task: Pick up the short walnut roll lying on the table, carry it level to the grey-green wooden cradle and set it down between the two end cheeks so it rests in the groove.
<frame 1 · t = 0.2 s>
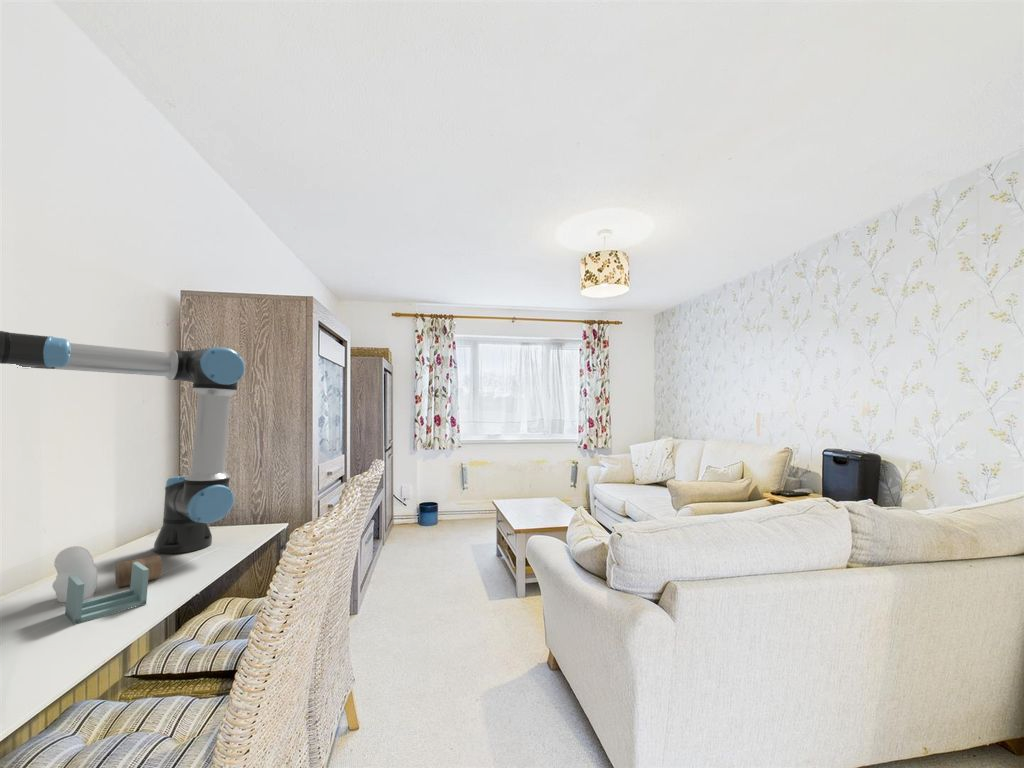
roll: (139, 570, 113), point 3 cm above the table
cradle: (106, 608, 98), on the table
figurine: (73, 598, 103), on the table
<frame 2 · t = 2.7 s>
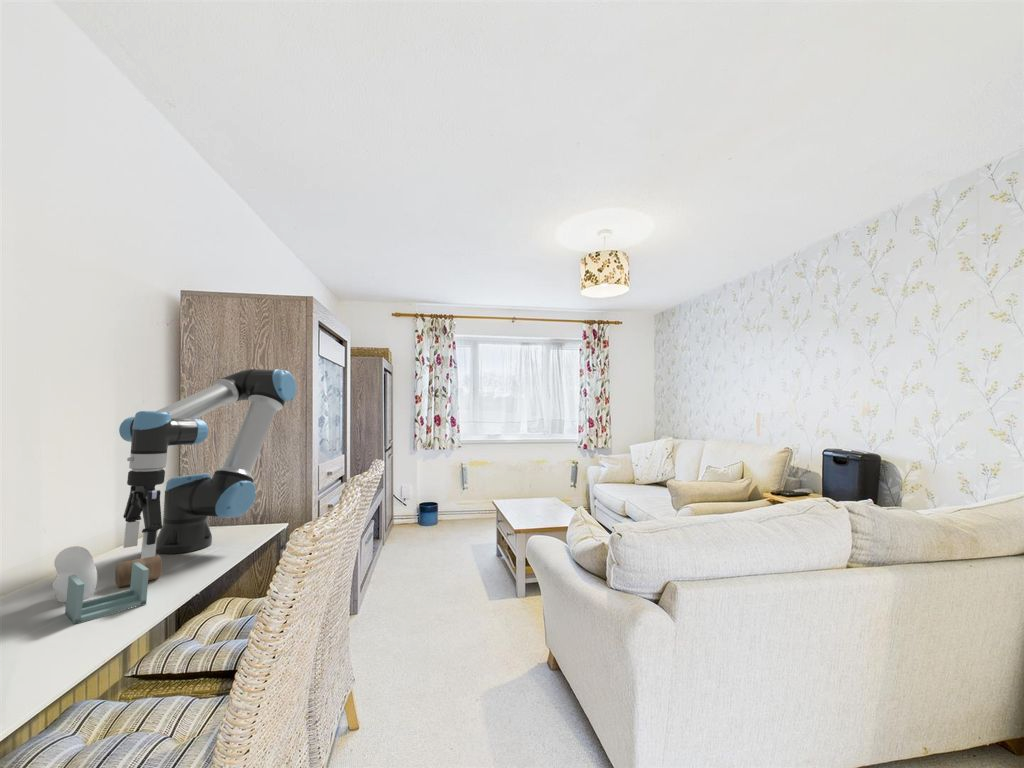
hand: (138, 551, 113), 8 cm above the table, fingers open, 13 cm apart
nothing on the table moved.
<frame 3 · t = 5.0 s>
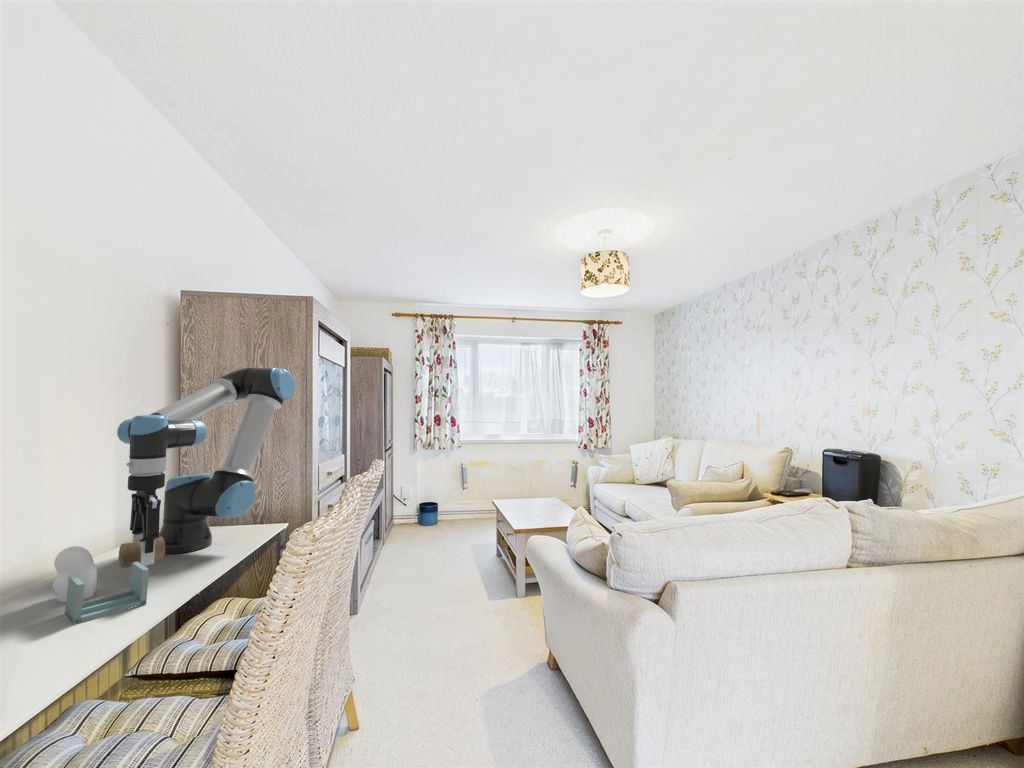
hand: (142, 561, 114), 5 cm above the table, fingers closed on roll, 6 cm apart
roll: (142, 551, 114), point 8 cm above the table, touching gripper
everything else where it was.
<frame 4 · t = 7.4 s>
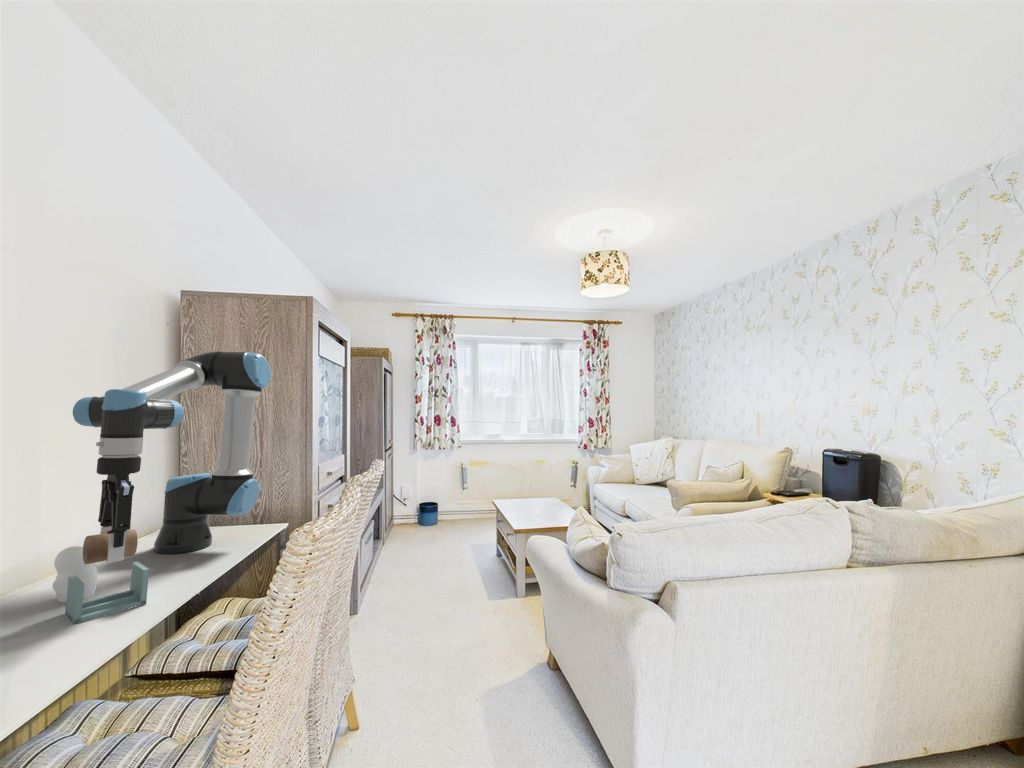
hand: (110, 557, 99), 11 cm above the table, fingers closed on roll, 6 cm apart
roll: (110, 546, 99), point 14 cm above the table, touching gripper
everything else where it was.
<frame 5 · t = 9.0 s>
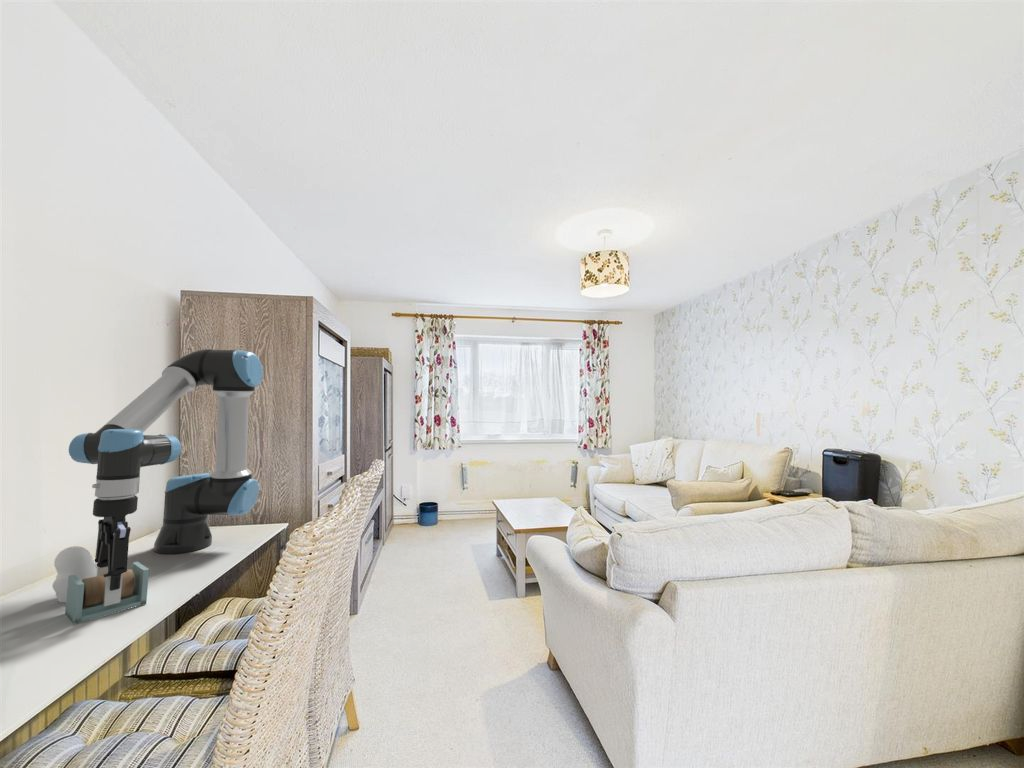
hand: (107, 599, 99), 2 cm above the table, fingers closed on roll, 6 cm apart
roll: (107, 587, 99), point 5 cm above the table, touching cradle, gripper
everything else where it was.
when the fingers open (2 cm above the table, at t = 9.7 s): roll stays where it is, resting on cradle.
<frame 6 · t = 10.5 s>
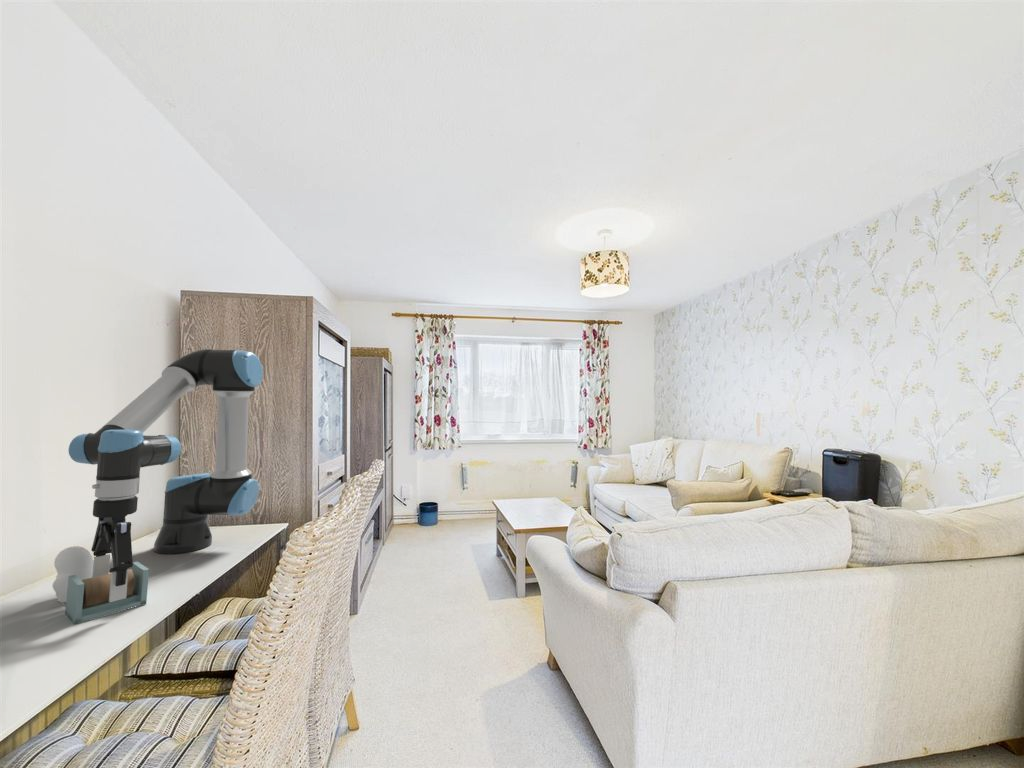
hand: (108, 591, 99), 4 cm above the table, fingers open, 13 cm apart
roll: (107, 588, 99), point 5 cm above the table, touching cradle
everything else where it was.
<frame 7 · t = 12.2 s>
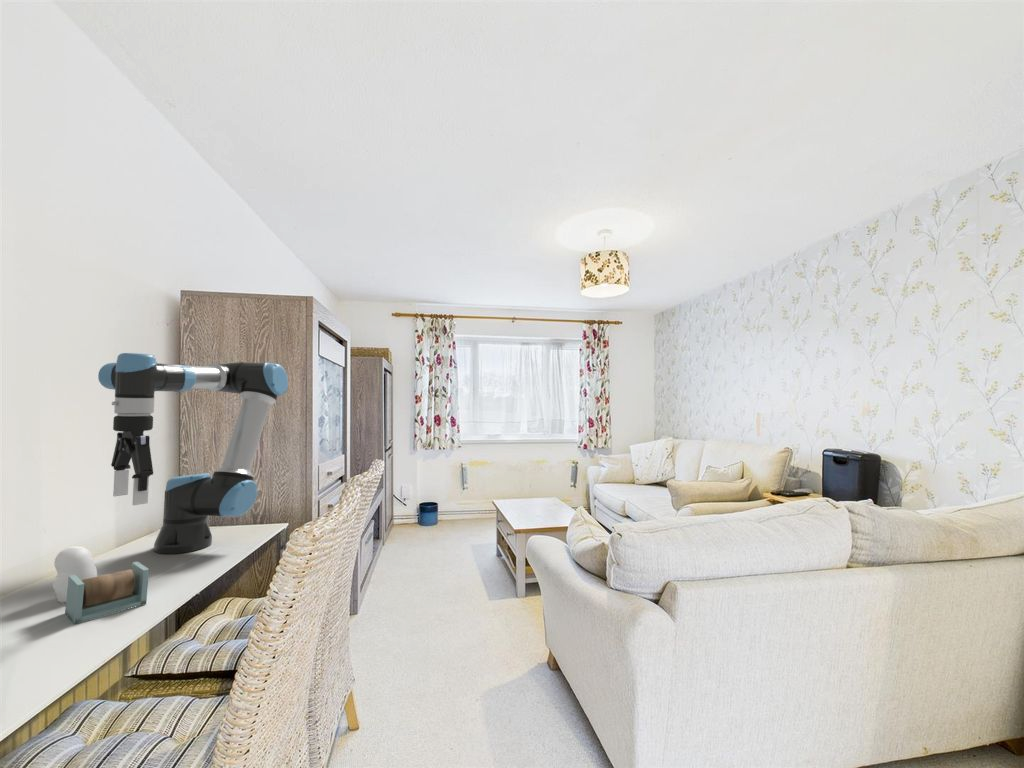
hand: (129, 499, 109), 22 cm above the table, fingers open, 13 cm apart
nothing on the table moved.
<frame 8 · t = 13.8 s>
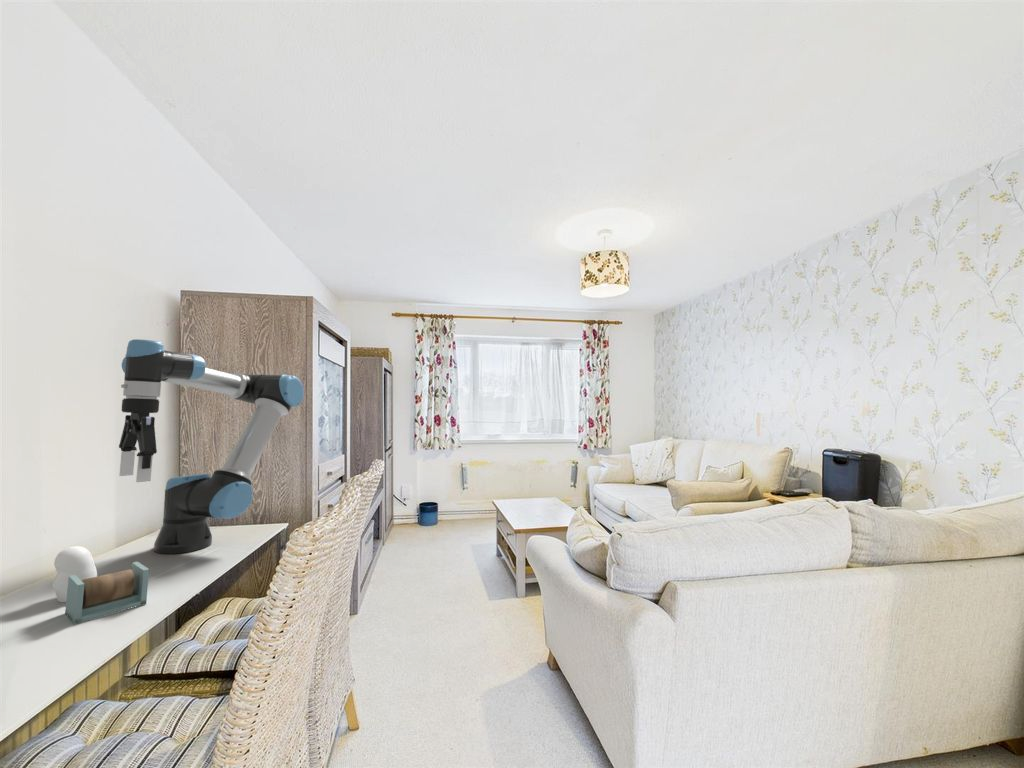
hand: (134, 478, 114), 27 cm above the table, fingers open, 13 cm apart
nothing on the table moved.
at the end: roll 0.2 cm off-centre on the cradle, point 4.6 cm above the cradle's base; the gripper is holding nothing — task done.
